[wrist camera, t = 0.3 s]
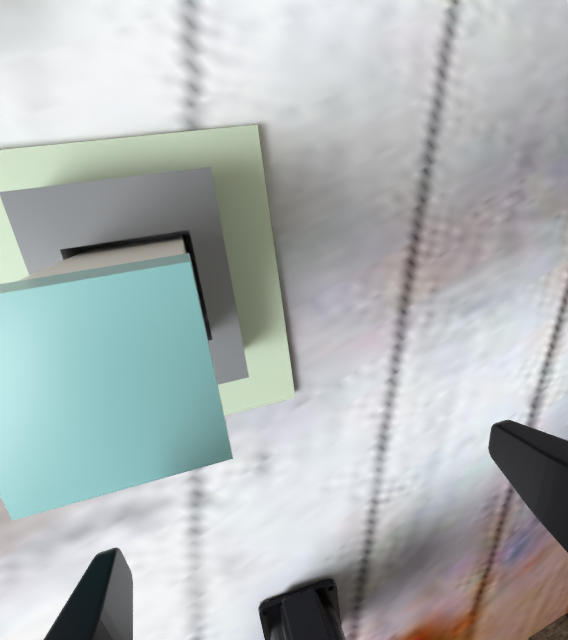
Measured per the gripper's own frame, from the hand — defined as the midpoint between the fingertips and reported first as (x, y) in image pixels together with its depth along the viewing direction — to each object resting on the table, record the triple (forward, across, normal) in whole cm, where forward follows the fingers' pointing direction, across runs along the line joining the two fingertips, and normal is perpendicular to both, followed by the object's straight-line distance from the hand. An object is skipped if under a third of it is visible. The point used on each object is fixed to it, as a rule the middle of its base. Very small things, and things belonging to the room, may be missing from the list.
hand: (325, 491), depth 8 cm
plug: (+14, +4, -2) cm, 14 cm away
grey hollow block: (+14, +4, -2) cm, 15 cm away
